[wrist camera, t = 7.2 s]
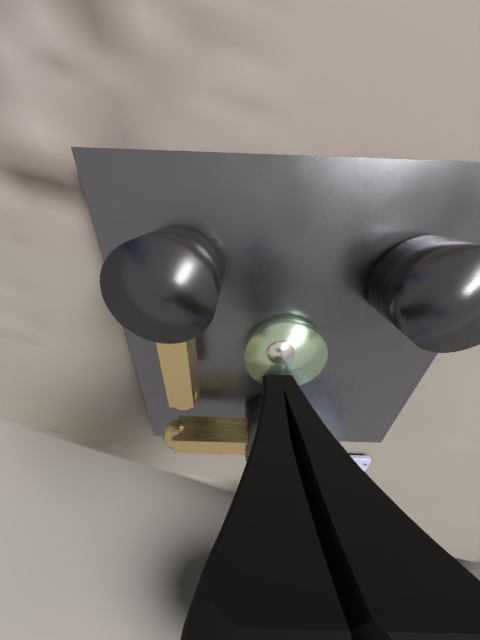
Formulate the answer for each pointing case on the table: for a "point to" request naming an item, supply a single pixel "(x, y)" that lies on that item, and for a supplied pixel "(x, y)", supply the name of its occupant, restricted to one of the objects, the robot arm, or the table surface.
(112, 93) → the table surface
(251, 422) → the knob
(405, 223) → the dark grey square plate
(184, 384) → the knob
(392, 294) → the knob
